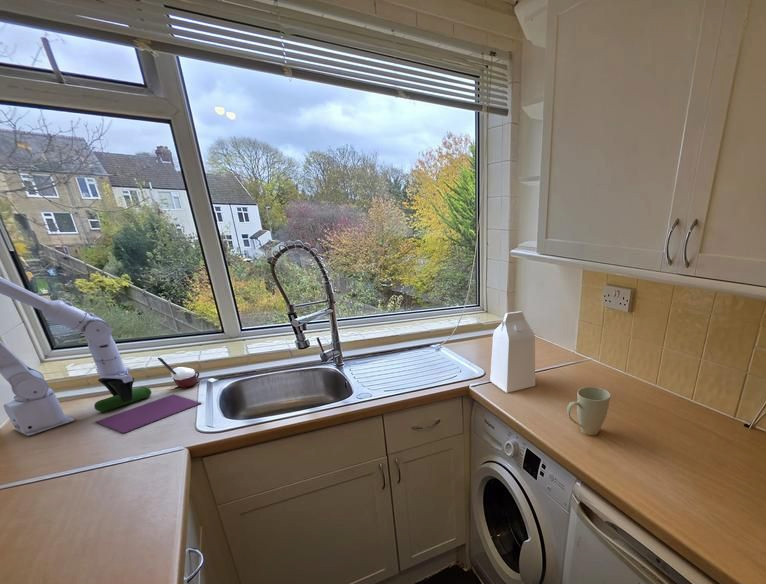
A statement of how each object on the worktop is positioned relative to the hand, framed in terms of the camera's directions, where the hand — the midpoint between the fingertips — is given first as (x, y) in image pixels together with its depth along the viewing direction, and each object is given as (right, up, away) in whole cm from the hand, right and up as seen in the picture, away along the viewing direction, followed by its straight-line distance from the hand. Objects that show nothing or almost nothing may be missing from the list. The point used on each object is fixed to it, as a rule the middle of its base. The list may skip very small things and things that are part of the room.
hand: (124, 399), depth 125 cm
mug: (+141, -9, -9) cm, 142 cm away
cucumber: (0, -1, +1) cm, 2 cm away
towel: (+12, -4, -4) cm, 13 cm away
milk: (+120, +5, +21) cm, 122 cm away
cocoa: (+8, +4, +13) cm, 16 cm away
